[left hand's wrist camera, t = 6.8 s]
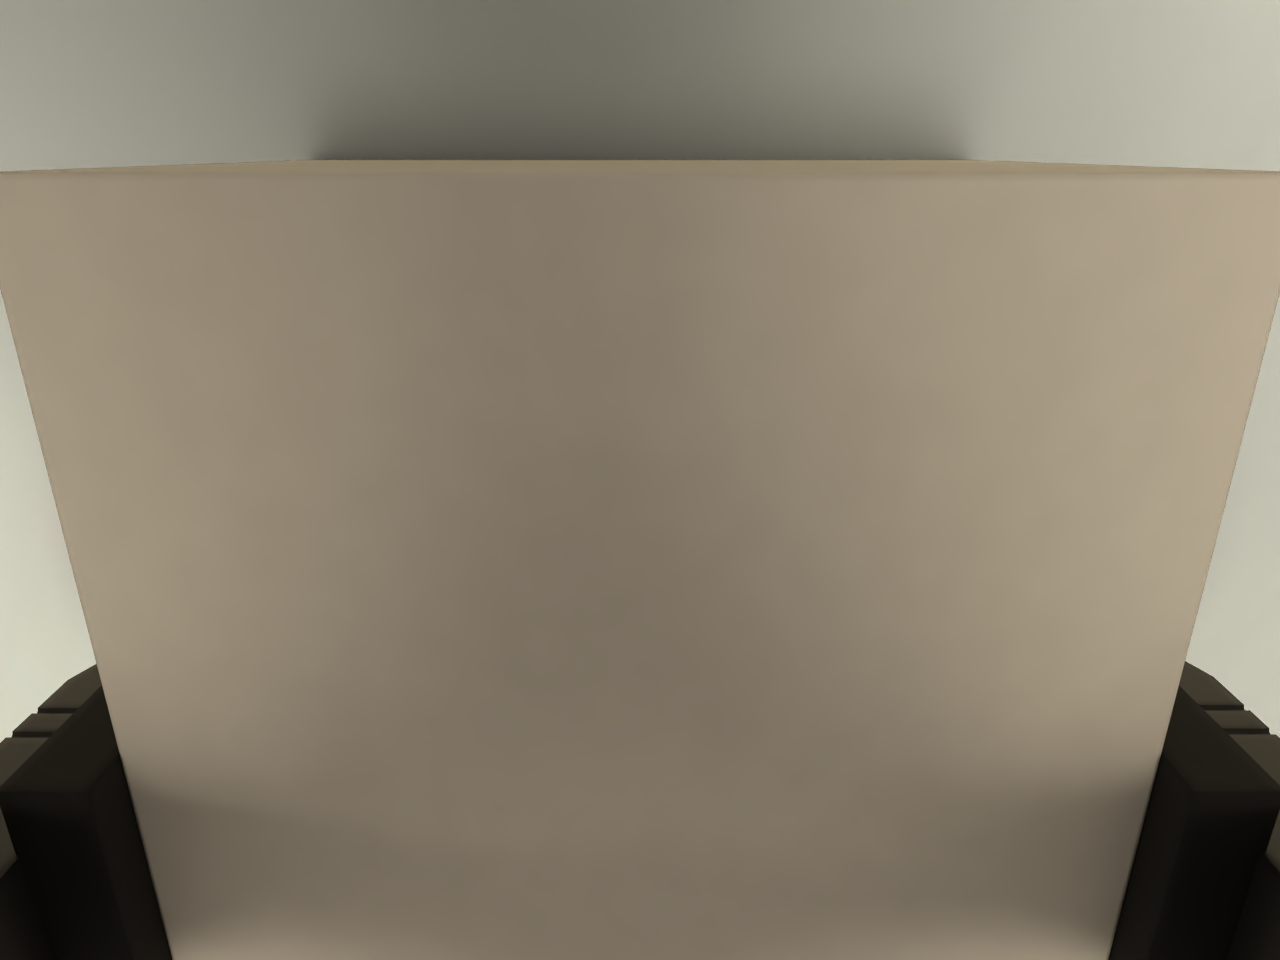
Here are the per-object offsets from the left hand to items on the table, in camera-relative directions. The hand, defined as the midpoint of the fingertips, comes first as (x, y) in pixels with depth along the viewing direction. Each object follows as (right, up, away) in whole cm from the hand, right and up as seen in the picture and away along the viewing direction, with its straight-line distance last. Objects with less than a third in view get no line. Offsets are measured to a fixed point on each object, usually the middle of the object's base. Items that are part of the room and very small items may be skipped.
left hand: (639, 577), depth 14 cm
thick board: (0, -20, +8) cm, 22 cm away
